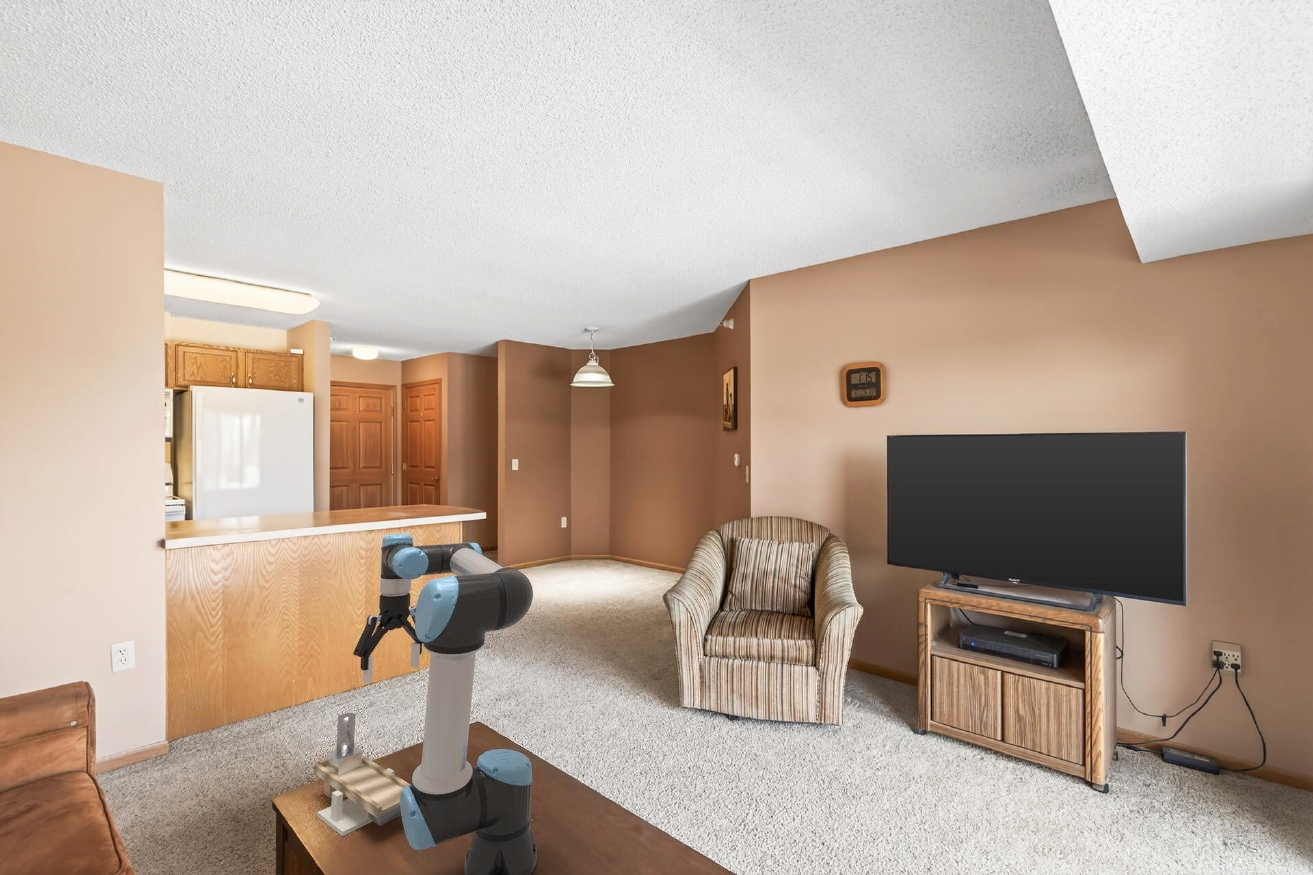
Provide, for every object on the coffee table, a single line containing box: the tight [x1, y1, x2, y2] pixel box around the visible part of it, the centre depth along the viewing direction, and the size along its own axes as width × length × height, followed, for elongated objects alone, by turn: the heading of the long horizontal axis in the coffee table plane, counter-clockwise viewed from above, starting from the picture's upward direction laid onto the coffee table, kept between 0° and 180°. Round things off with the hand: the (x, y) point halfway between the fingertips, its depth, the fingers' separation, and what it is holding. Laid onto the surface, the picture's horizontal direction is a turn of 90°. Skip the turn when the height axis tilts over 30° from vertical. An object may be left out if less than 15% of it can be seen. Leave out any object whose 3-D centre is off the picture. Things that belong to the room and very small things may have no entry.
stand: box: [317, 767, 395, 837], centre depth 149 cm, size 20×16×7 cm
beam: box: [313, 754, 412, 827], centre depth 147 cm, size 30×11×5 cm, turn 54°
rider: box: [326, 712, 364, 776], centre depth 153 cm, size 6×6×13 cm
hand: (391, 674), depth 156 cm, fingers open, 13 cm apart
